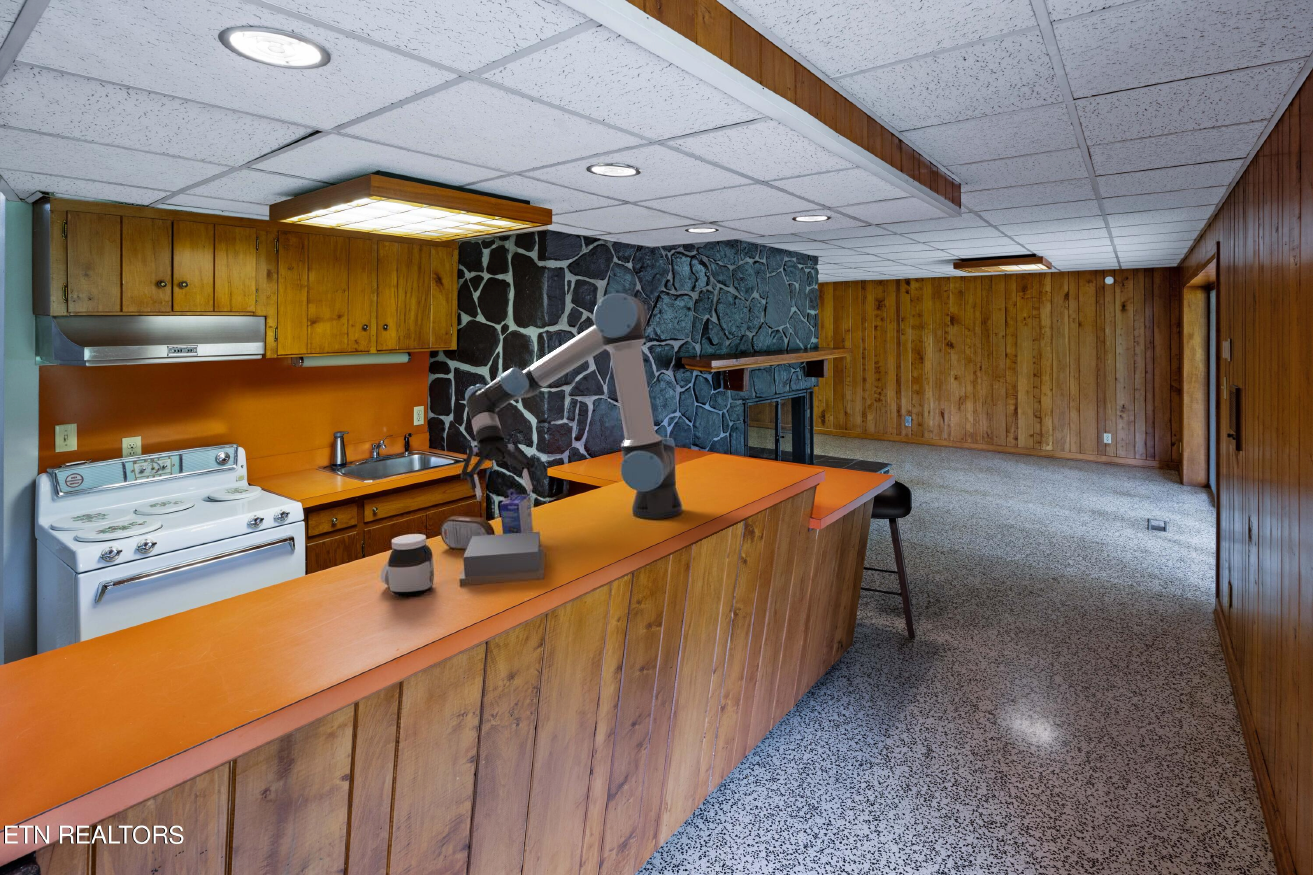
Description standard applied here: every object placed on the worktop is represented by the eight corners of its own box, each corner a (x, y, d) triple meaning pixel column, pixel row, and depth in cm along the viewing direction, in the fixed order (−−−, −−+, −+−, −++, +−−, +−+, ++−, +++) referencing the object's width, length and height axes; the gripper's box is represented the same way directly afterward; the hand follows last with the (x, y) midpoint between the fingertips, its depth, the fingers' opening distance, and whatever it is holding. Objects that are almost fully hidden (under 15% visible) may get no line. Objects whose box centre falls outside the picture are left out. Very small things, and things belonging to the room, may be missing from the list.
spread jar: (421, 600, 135) (417, 545, 133) (367, 601, 135) (362, 546, 134) (443, 579, 147) (439, 529, 145) (393, 580, 147) (388, 529, 145)
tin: (496, 549, 167) (494, 517, 166) (489, 553, 164) (487, 520, 163) (447, 545, 172) (444, 514, 171) (439, 549, 169) (437, 517, 168)
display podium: (545, 553, 163) (543, 530, 162) (543, 578, 145) (542, 552, 144) (470, 559, 160) (468, 535, 159) (459, 585, 142) (457, 558, 142)
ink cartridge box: (514, 538, 177) (510, 485, 175) (534, 538, 176) (531, 485, 174) (502, 549, 167) (498, 494, 165) (523, 549, 166) (520, 494, 164)
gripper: (528, 436, 194) (547, 495, 184) (441, 444, 183) (456, 508, 172) (533, 420, 189) (553, 480, 178) (443, 427, 177) (459, 492, 167)
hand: (505, 494), depth 175 cm, fingers open, 13 cm apart
